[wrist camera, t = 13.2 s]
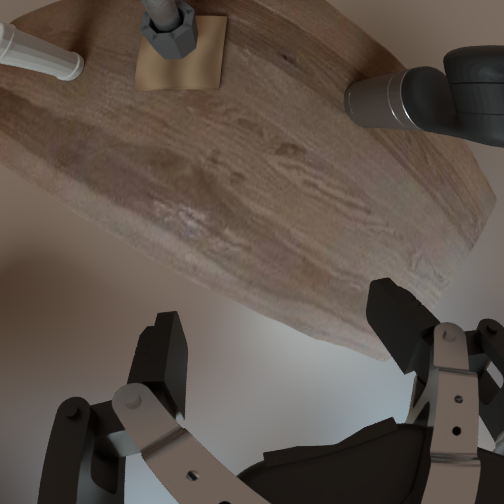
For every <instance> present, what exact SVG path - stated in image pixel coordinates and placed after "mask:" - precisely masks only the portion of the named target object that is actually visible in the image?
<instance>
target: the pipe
mask: <svg viewBox="0 0 504 504" xmlns="http://www.w3.org/2000/svg"><path fill="white" fill-rule="evenodd" d="M0 63H2V64H7V65H12V66H17V67H22V68H27V69H31V70H35V71H39V72H43V73H47V74H51V75H55V76H56V77H57V78H58V79H61V80H67V81H69V80H73V79H75V78H76V77H78V76H79V75H80V73H81V72H82V70H83V68H84V59H83V58H82V57H81V56H80V55H79V54H78V53H76V52H68V51H66V50H64V49H62V48H60V47H58V46H55V45H53V44H51V43H49V42H46V41H44V40H41V39H39V38H37V37H34V36H32V35H29V34H27V33H24V32H22V31H19V30H16V27H15V26H14V25H13V24H6V23H4V22H0Z"/></svg>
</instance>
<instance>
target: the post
mask: <svg viewBox="0 0 504 504" xmlns="http://www.w3.org/2000/svg"><path fill="white" fill-rule="evenodd" d="M141 1H142V3H143V5H144V6H145V8H146V10H147V12H148V13H149V15H150V17H151V19H152V20H153V22H154V24H155V26H156V27H157V29H158V31H159V33H172V32H173V31H175V30H176V29H177V28H179V27H180V26H181V25H182V23H181V20H180V16H179V13H178V10H177V6H176V3H175V0H141ZM195 17H196V23H197V29H198V39H197V46H196V49H195V50H193V51H192V52H191V53H189V54H188V55H187V56H185V57H184V58H183V59H164V58H163V57H162V56H161V55H160V54H159V53H158V52H157V51H156V50H154V48H153V47H152V46H151V44H150V43H149V41H148V40H147V39H146V38H145V36H144V35H143V34H142V35H141V41H140V47H139V53H138V60H137V67H136V75H135V84H134V90H135V91H149V90H172V89H203V90H219V85H220V75H221V65H222V56H223V47H224V39H225V31H226V23H227V16H195Z"/></svg>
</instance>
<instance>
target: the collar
mask: <svg viewBox="0 0 504 504" xmlns="http://www.w3.org/2000/svg"><path fill="white" fill-rule="evenodd" d="M175 3H176V6H177V10H178V13H179V16H180V20H181V23H182V25H181V26H180V27H179V28H177V29H176V30H175V31H173V32H172V33H159V31H158V29H157V27H156V26H155V24H154V22H153V20H152V19H151V17H150V15H149V13H148V12H147V11H145V12H144V13H143V17H142V21H141V26H140V31H141V32H142V34H143V35H144V36H145V38H146V39H147V40H148V41H149V43H150V44H151V46H152V47H153V48H154V50H156V51H157V52H158V53H159V54H160V55H161V56H162V57H163V58H164V59H183V58H184V57H185V56H187V55H188V54H189V53H191V52H192V51H193V50H195V49H196V46H197V39H198V29H197V23H196V17H195V10H194V9H193V8H192V7H190V6H189V5H188V4H187V3H185V2H184V1H183V0H175Z"/></svg>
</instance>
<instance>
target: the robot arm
mask: <svg viewBox="0 0 504 504" xmlns="http://www.w3.org/2000/svg"><path fill="white" fill-rule="evenodd" d="M443 63H444V68H445V73H446V76H445V75H444V74H443V73H442V72H441V71H439V70H438V69H436V68H432V67H428V66H425V67H424V66H423V67H417V68H412V69H407V70H402V71H398V72H393V73H389V74H385V75H381V76H377V77H373V78H369V79H365V80H361V81H358V82H355V83H353V84H351V85H350V86H349V87H348V89H347V90H346V93H345V97H344V104H345V109H346V111H347V113H348V115H349V117H350V118H351V119H352V120H353V121H354V122H355V123H356V124H358V125H360V126H362V127H368V128H387V129H403V130H416V131H426V132H433V133H437V134H443V135H449V136H454V137H458V138H462V139H466V140H470V141H473V142H477V143H481V144H485V145H489V146H495V147H502V148H504V46H496V45H493V46H492V45H488V46H469V47H462V48H458V49H454V50H452V51H450V52H448V53H447V54H446V55H445V57H444V59H443ZM366 317H367V321H368V323H369V325H370V326H371V327H372V329H373V330H374V331H375V333H376V334H377V336H378V337H379V339H380V340H381V341H382V343H383V344H384V346H385V347H386V348H387V350H388V351H389V353H390V354H391V356H392V357H393V359H394V360H395V362H396V363H397V364H398V366H399V367H400V369H401V370H402V372H403V373H404V374H407V373H410V372H412V371H415V372H416V376H415V378H414V384H413V390H412V396H411V402H410V408H409V413H408V416H407V419H406V422H405V423H401V424H396V422H395V420H394V418H393V417H391V418H388V419H386V420H383V421H381V422H378V423H375V424H373V425H370V426H367V427H364V428H363V429H361V430H360V431H358V432H356V433H355V434H353V435H351V436H350V437H348V438H346V439H345V440H343V441H342V442H340V443H337V444H335V445H324V446H296V447H292V448H287V449H282V450H276V451H270V452H264V453H263V456H264V460H263V461H261V462H258V463H256V464H254V465H252V466H250V467H248V468H247V469H245V470H244V471H242V472H241V473H240V474H238V475H237V476H235V475H234V474H233V473H232V472H230V471H229V470H228V469H227V468H226V467H225V466H224V465H223V464H221V463H220V462H219V461H218V460H217V459H216V458H215V457H214V456H213V455H212V454H211V453H210V452H208V450H207V449H206V448H205V447H204V446H202V444H201V443H199V441H197V439H196V438H195V437H193V435H192V434H190V432H188V431H187V430H186V429H185V428H184V429H183V428H182V427H181V426H180V425H179V424H178V423H177V422H176V421H179V420H185V397H186V378H187V362H188V347H187V342H186V338H185V335H184V332H183V329H182V325H181V322H180V319H179V315H178V313H177V311H172V312H163V313H158V314H157V317H156V321H155V326H147V327H146V329H145V330H144V331H143V332H142V333H141V335H140V337H139V340H138V344H137V347H136V351H135V355H134V358H133V362H132V366H131V369H130V373H129V378H128V381H127V385H125V386H122V387H121V388H119V389H118V390H117V391H116V392H115V394H114V396H113V398H112V400H110V401H107V402H103V403H99V404H95V405H89V403H88V402H87V401H86V400H85V399H83V398H81V397H72V398H69V399H67V400H65V401H64V402H63V403H62V404H61V405H60V406H59V408H58V410H57V413H56V417H55V420H54V424H53V427H52V431H51V435H50V439H49V443H48V447H47V451H46V456H45V461H44V465H43V471H42V477H41V482H40V488H39V495H38V503H37V504H124V482H125V462H126V456H129V455H133V454H137V453H142V454H141V456H142V458H143V459H144V461H145V462H146V463H147V465H148V466H149V468H150V469H151V470H152V472H153V473H154V474H155V475H156V477H157V478H158V479H159V481H160V482H161V483H162V484H163V485H164V487H165V488H166V489H167V490H168V491H169V493H170V494H171V495H172V496H173V497H174V498H175V499H176V501H177V502H178V503H179V504H504V383H503V386H502V387H501V389H500V388H499V387H498V385H497V384H496V382H495V381H494V380H493V378H492V377H491V376H490V374H489V373H488V372H487V370H486V369H487V367H488V366H489V364H490V362H491V361H492V362H493V364H494V365H495V366H496V367H497V368H498V370H499V371H500V372H501V374H502V375H503V379H504V327H503V326H502V325H501V324H500V323H498V322H497V321H495V320H493V319H483V320H481V321H480V322H479V324H478V327H477V329H476V330H473V331H465V332H464V331H463V330H462V329H461V328H460V327H459V326H457V325H456V324H453V323H448V322H445V323H440V321H439V320H438V319H437V318H436V317H435V316H434V315H433V314H432V313H431V312H430V311H429V310H428V309H427V308H426V307H425V306H424V305H422V303H421V302H420V301H419V300H418V299H417V300H416V297H415V296H414V295H413V294H412V293H411V292H409V291H408V290H406V289H404V288H402V287H400V286H397V285H396V284H395V283H394V282H393V281H392V280H391V279H390V278H382V279H378V280H373V281H372V282H371V283H370V288H369V294H368V301H367V307H366ZM479 415H480V417H481V419H482V420H483V422H484V424H485V425H486V427H487V429H488V431H489V432H490V434H491V436H492V438H493V439H494V441H495V443H496V444H495V446H496V448H495V449H494V450H493V452H491V451H488V450H485V449H482V448H479V447H477V444H478V423H479V422H478V421H479Z"/></svg>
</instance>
